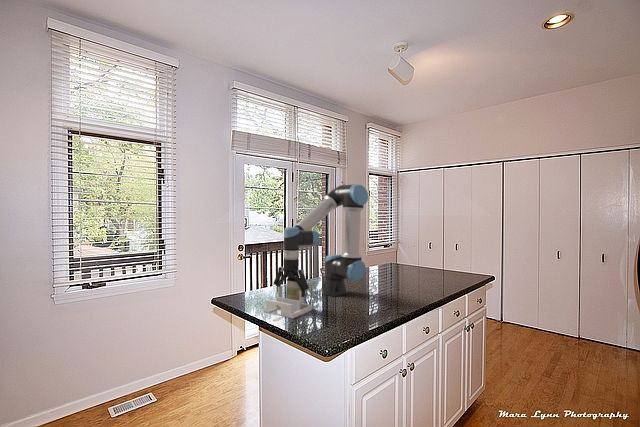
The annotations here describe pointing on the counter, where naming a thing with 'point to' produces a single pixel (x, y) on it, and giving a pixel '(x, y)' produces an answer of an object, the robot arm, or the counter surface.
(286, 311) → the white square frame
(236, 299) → the counter surface
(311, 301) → the counter surface
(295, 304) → the pusher
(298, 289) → the coffee cup
